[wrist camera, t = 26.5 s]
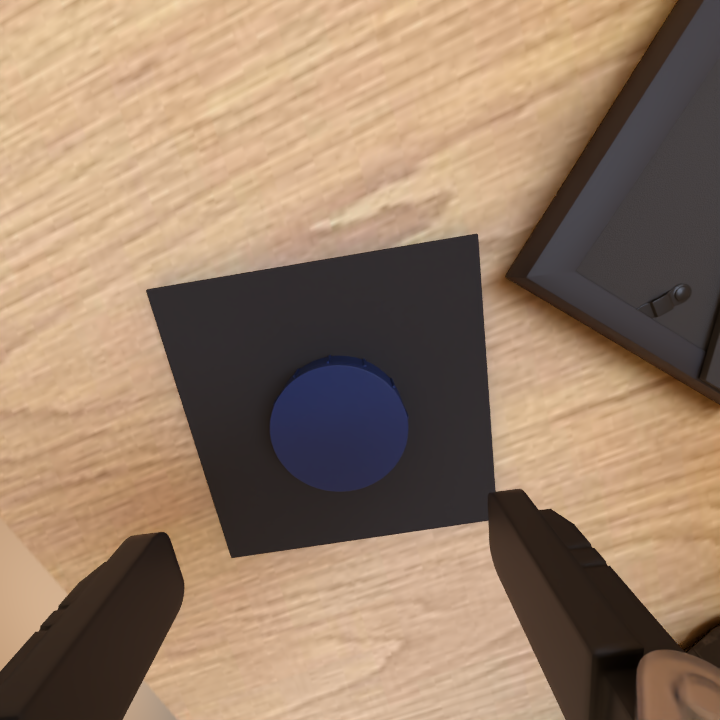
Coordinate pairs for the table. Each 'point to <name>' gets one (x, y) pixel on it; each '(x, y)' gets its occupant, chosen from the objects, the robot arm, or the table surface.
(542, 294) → the picture frame
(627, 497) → the table surface
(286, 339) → the mat
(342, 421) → the lid
